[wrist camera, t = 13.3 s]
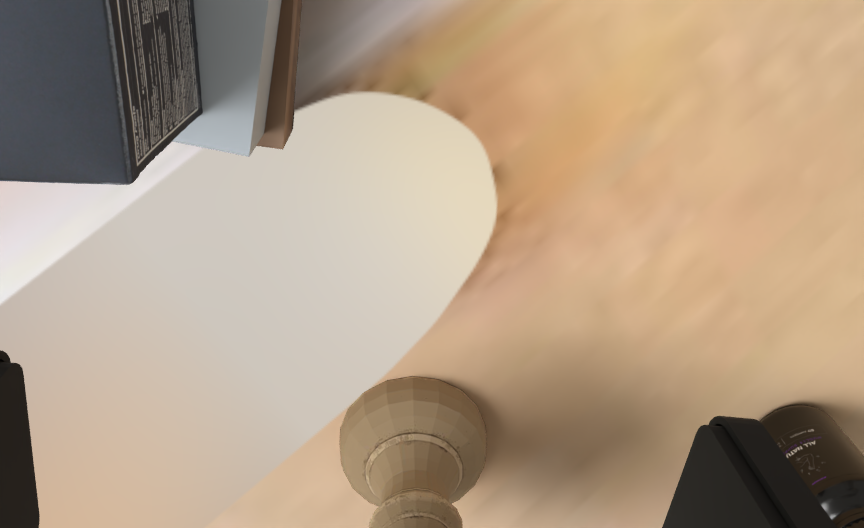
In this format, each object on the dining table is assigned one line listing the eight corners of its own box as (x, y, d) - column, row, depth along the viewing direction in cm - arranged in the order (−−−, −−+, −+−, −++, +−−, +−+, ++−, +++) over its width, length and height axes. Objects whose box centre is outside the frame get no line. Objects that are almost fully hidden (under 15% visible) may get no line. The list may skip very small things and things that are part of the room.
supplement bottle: (765, 395, 55) (856, 511, 44) (847, 408, 56) (955, 526, 45) (730, 465, 58) (807, 591, 47) (809, 477, 59) (902, 604, 48)
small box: (29, -135, 31) (-132, -160, 21) (186, -127, 31) (96, -147, 22) (69, 113, 35) (-49, 183, 26) (206, 117, 36) (139, 188, 26)
